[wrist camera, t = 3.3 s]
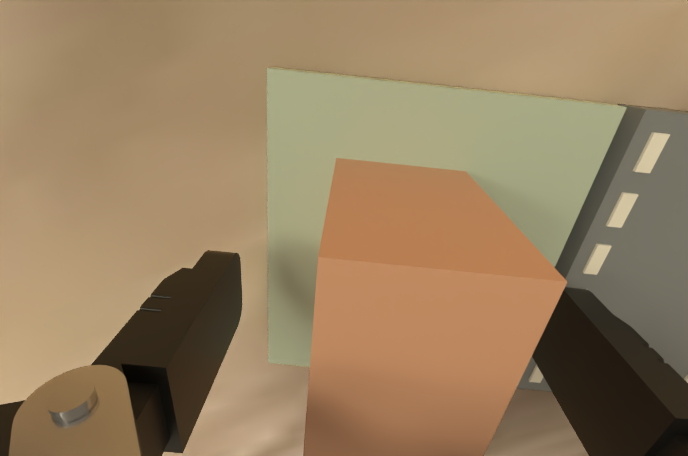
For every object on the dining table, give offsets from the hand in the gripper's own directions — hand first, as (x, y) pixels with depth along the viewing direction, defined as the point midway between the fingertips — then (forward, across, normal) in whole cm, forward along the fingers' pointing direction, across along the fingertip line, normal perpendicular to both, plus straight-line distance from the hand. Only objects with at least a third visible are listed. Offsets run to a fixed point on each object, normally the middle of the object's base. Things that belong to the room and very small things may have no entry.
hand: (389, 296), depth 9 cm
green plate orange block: (+3, -1, 0) cm, 3 cm away
